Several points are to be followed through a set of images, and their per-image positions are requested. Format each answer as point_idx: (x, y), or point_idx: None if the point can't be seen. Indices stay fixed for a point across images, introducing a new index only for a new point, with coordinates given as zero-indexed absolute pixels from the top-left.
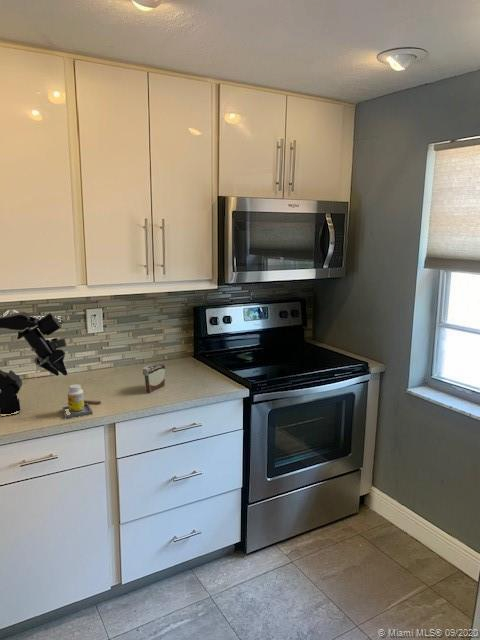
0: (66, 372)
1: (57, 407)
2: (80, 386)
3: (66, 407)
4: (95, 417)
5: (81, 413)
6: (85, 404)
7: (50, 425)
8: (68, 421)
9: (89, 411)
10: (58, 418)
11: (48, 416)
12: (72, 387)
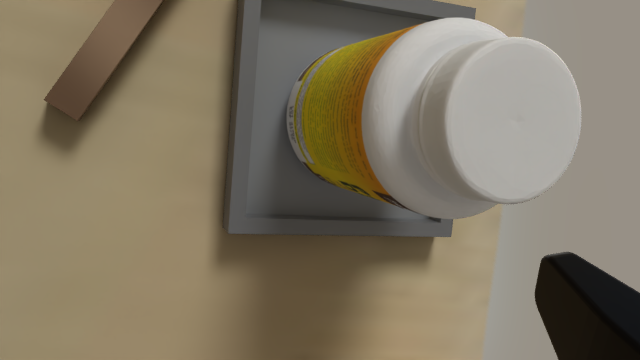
0: (611, 286)
1: (121, 262)
2: (532, 43)
3: (244, 193)
4: (523, 14)
5: None
6: (259, 1)
7: (482, 345)
8: (485, 217)
9: None
10: (393, 280)
11: (309, 353)
12: (559, 170)
